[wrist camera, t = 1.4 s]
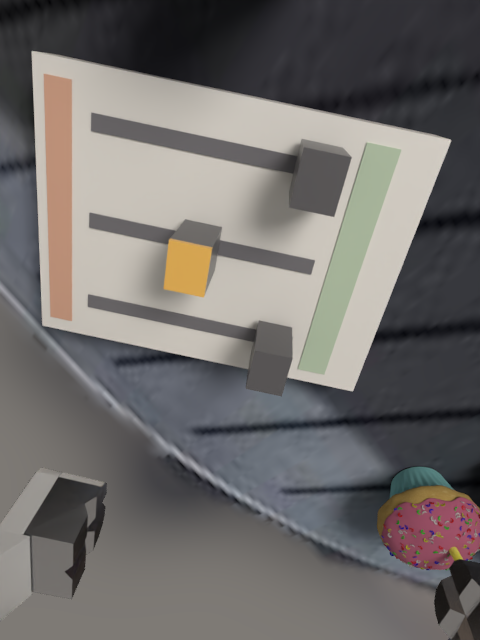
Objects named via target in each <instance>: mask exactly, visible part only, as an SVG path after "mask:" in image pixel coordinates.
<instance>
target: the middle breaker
mask: <svg viewBox="0 0 480 640" xmlns="http://www.w3.org/2000/svg"><path fill="white" fill-rule="evenodd" d="M221 232H222V227H219V226H215V225H210V224H205V223H201V222H196V221H191V220H187V219H185V220H184V221H183V223H182V224H181V225H180V226H179V228H178V229H177V230H176V232H175V233H174V234H173V235H172V237H171V238H170V239H169V243H168V252H167V261H166V270H165V279H164V288H163V289H166V290H170V291H175V292H180V293H184V294H189V295H194V296H199V297H203V298H204V296H205V294H206V291H207V289H208V286H209V284H210V281H211V279H212V276H213V274H214V271H215V267H216V261H217V255H218V249H219V243H220V238H221Z"/></svg>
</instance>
